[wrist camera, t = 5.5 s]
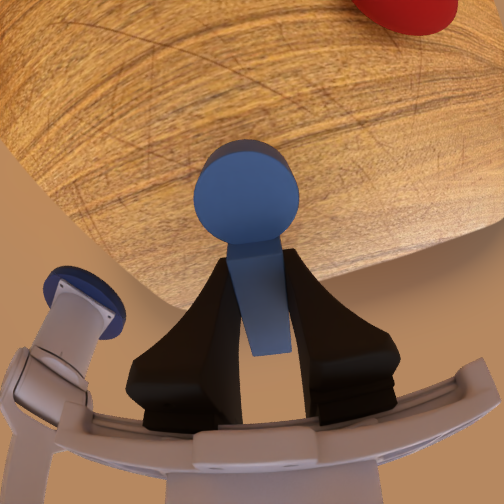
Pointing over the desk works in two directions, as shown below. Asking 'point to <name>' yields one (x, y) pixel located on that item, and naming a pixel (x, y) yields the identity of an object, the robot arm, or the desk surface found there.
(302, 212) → the desk surface
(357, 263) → the desk surface
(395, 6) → the christmas ornament
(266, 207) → the blue long-handled part
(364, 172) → the desk surface
